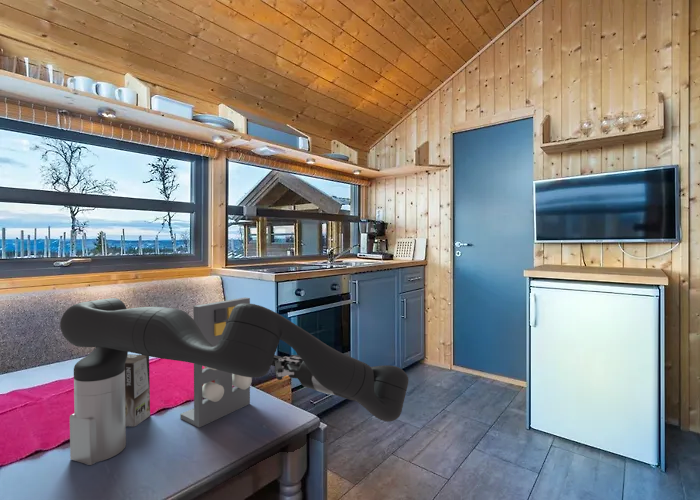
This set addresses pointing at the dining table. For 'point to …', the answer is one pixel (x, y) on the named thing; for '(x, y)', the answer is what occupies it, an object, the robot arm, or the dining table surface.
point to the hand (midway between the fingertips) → (270, 359)
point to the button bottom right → (241, 381)
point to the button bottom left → (212, 391)
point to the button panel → (206, 411)
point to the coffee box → (137, 389)
